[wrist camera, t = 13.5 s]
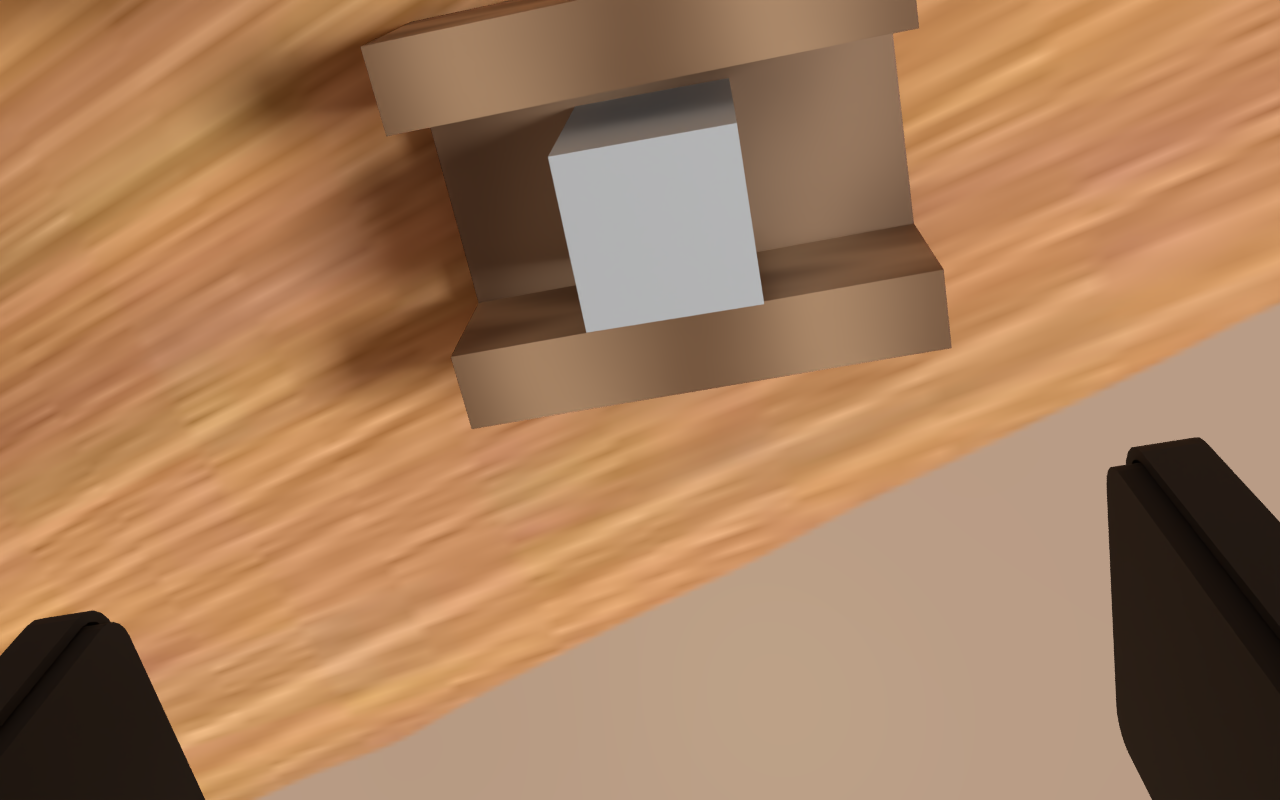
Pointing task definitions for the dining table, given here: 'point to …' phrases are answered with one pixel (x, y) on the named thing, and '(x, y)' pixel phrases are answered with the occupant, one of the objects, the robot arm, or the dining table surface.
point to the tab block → (656, 207)
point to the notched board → (774, 172)
